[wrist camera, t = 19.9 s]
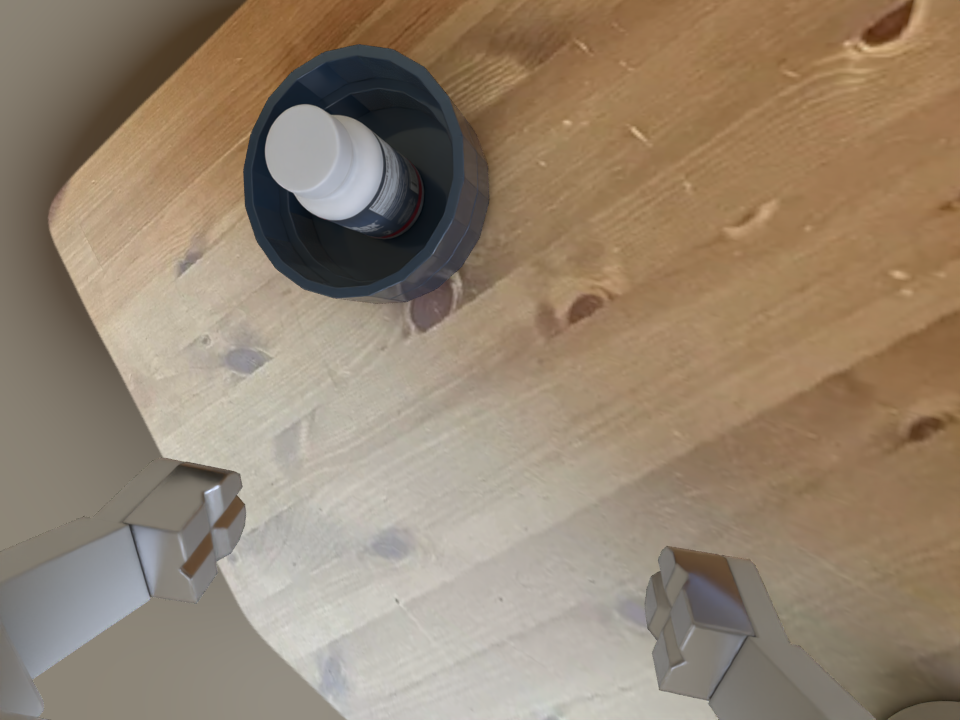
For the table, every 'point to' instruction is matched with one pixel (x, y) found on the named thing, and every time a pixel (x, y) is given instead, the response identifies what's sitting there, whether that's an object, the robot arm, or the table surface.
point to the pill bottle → (344, 172)
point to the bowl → (410, 131)
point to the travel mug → (930, 711)
